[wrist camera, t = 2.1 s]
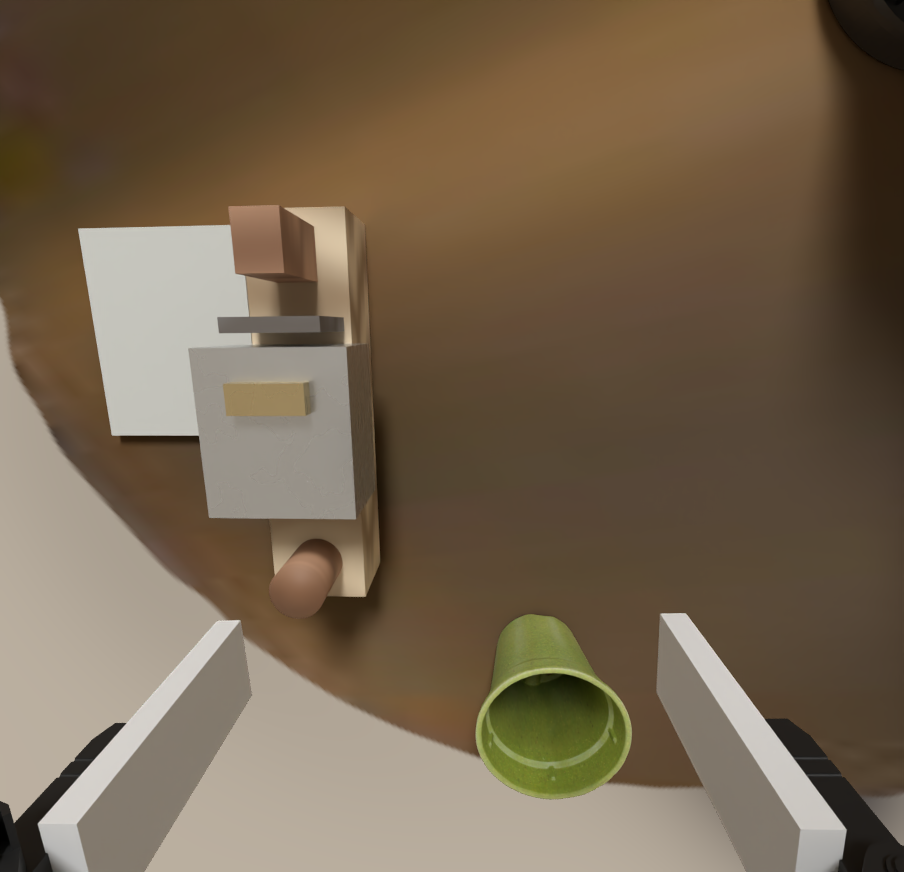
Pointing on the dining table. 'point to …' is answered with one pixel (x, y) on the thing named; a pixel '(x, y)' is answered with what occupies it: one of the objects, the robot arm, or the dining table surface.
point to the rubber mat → (159, 317)
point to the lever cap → (285, 429)
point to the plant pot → (549, 714)
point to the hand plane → (309, 322)
